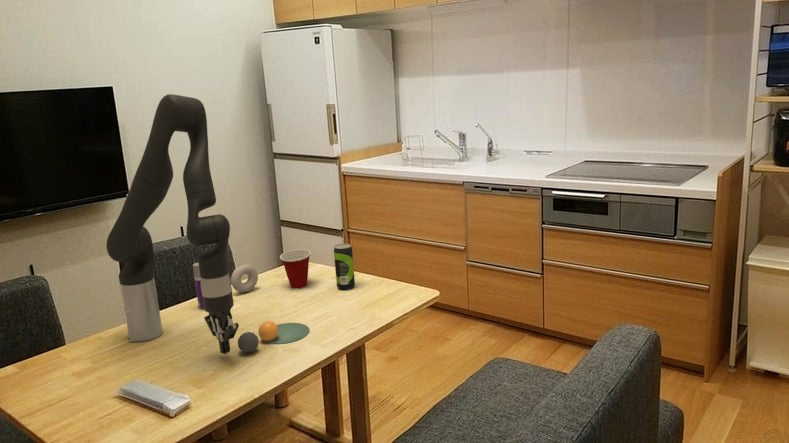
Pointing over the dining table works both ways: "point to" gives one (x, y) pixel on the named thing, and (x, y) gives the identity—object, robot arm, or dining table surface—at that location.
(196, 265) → the container
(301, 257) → the plastic cup
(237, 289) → the donut
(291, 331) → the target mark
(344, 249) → the beverage can
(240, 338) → the dark grey ball
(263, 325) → the orange ball
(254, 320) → the dining table surface
